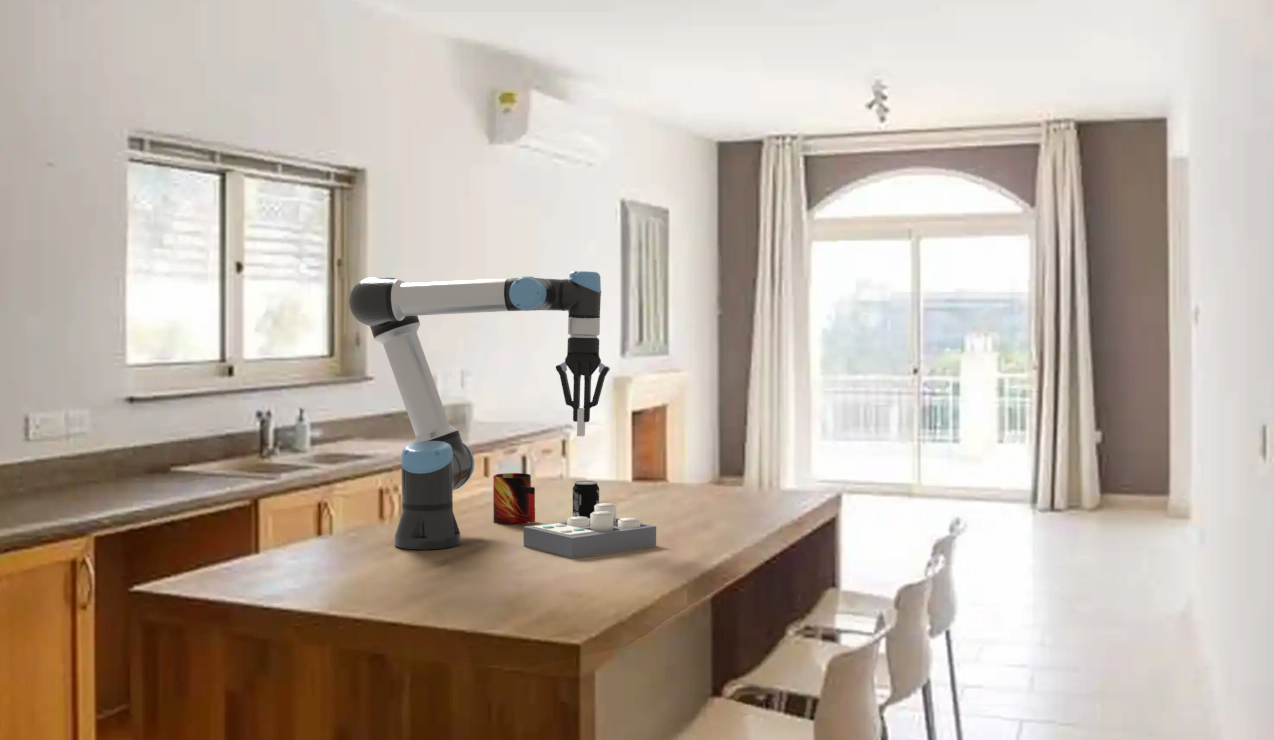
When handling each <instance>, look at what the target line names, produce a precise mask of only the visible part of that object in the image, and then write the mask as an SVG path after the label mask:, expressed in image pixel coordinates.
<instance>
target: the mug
mask: <svg viewBox="0 0 1274 740" xmlns="http://www.w3.org/2000/svg"><path fill="white" fill-rule="evenodd" d="M492 479H493V486H492V487H493V499H492V500H493V524H496V523H497V524H496V525H502V524H503V526H504V525H505V526H519V525H527V524H530V523H535V522H536V502H535V501H536V500H535V498H536V489H535V487H533V486H532V474H529V473H524V472H522V473H519V472H506V473H498V474H494V475H493V478H492Z"/></svg>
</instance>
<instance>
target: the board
mask: <svg viewBox="0 0 1274 740" xmlns="http://www.w3.org/2000/svg"><path fill="white" fill-rule="evenodd" d="M620 519H621V518H617V517H616V522H613V531H606V532H595V531H591V530H590V518H589V525H588V526H581V527H573V526H569V525H567V520H566V521H564V520H563V521H557V522H551V523H549V522H548V523H540V524H534V525H526V526H523V547H525V548H530V549H533V550H538V551H540V552H541V551H542V552H544V553H546V552H547V553H550V554H553V555H558V556H561V557H565V558H569V559H578V558H585V557H590V556H591V557H592V556H598V555H605V554H611V553H616V552H623V551H629V550H637V549H645V548H649V547H656V546H657V526H656V525H651V524H647V523H641V522H640V527H635V528H628V529H627V528H622V527H618V520H620Z"/></svg>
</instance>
